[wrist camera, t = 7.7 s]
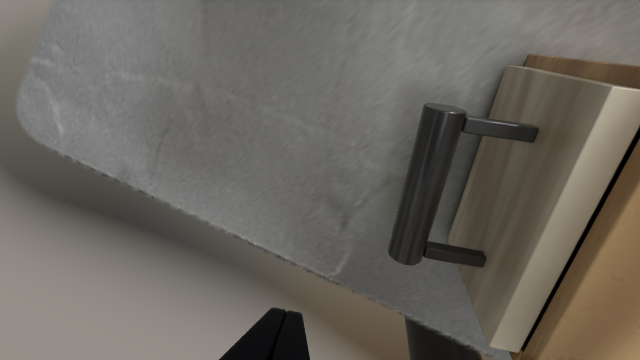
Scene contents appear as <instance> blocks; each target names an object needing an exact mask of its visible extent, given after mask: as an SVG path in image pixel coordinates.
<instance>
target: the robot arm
mask: <svg viewBox="0 0 640 360" xmlns="http://www.w3.org/2000/svg"><path fill="white" fill-rule="evenodd" d="M219 360H310V357H309V352H308V345H307V340H306V334H305V328H304V322H303V317H302V314H301V313H299V312H294V311H287V312H286V311H285V310H284V309H279V308H271V309H270V310H269V311H268V312H267V313H266V314H265V315H264V316H263V317H262V318H261V319H260V320H259V321H258V322H257V323H256V324H255V325H254V326H253V327H252V328H251V329H250V330H249V331H248V332H247V333H246V334H245V335H244V336H242V337H241V338H240V340H238V342H236V343H235V345H233V346H232V347H231V348H230V349H229V350H228V351H227V352H226V353H225V354H224V355H223V356H222V357H221V358H220V359H219Z"/></svg>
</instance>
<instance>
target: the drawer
mask: <svg viewBox="0 0 640 360" xmlns="http://www.w3.org/2000/svg"><path fill="white" fill-rule="evenodd" d="M466 114H467V112H466V111H465V110H463V109H460V108H457V107H454V106H449V105H444V104H436V103H427V104H424V107H423V111H422V115H421V119H420V123H419V127H418V131H417V135H416V139H415V143H414V147H413V151H412V155H411V159H410V163H409V167H408V171H407V175H406V179H405V183H404V187H403V191H402V195H401V199H400V203H399V207H398V211H397V215H396V219H395V223H394V227H393V231H392V235H391V239H390V243H389V247H388V253H389V255H390V256H391V258H393V259H394V260H395V261H397V262H399V263H402V264H405V265H416V264H418V263H420V262H421V260H422V257H423V255H424V257H425V258H429V259H435V260H440V261H446V262H451V263H457V265H458V268H459V271H460V273H461V276H462V278H463V281H464V283H465V286H466V289H467V291H468V294H469V296H470V299H471V302H472V304H473V307H474V309H475V312H476V315H477V317H478V320H479V322H480V325H481V327H482V330H483V333H484V335H485V338H486V340H487V343H488V346H489V347H491V348H496V349H501V350H506V351H511V352H516V353H518V352H519V351H520V349H521V347H522V346H523V344H524V342H525V340H526V338H527V336H528V334H529V332H530V331H531V329H532V327H533V325H534V323H535V321H536V319H537V318H538V316H539V314H540V315H541V317H543V315H544V313H545V312H546V310H547V308H548V306H549V304H550V302H551V301H552V299H553V297H554V295H555V293H556V291H557V289H558V288H559V286H560V284H561V282H562V280H563V278H564V277H565V275H566V273H567V271H568V269H569V267H570V266H571V264H572V262H573V260H574V258H575V256H576V254H577V253H578V251H579V249H580V247H581V245H582V243H583V242H584V240H585V238H586V236H587V234H588V232H589V231H590V229H591V227H592V225H593V223H594V221H595V219H596V218H597V216H598V214H599V212H600V210H601V208H602V207H603V205H604V203H605V201H606V199H607V197H608V196H609V194H610V192H611V190H612V188H613V186H614V184H615V183H616V181H617V179H618V177H619V175H620V173H621V172H622V170H623V168H624V166H625V164H626V162H627V161H628V159H629V157H630V155H631V153H632V151H633V149H634V148H635V146H636V144H637V142H638V140H639V138H640V89H638V88H633V87H628V86H623V85H618V84H613V83H607V82H602V81H597V80H592V79H587V78H581V77H576V76H571V75H566V74H561V73H556V72H550V71H545V70H540V69H535V68H529V67H522V66H514V65H506V68H505V71H504V74H503V77H502V80H501V83H500V86H499V89H498V92H497V95H496V98H495V100H494V103H493V106H492V109H491V112H490V115H489V118H483V117H476V116H469V115H466ZM461 131H462V132H463V133H469V134H476V135H482V139H481V142H480V145H479V148H478V151H477V154H476V157H475V160H474V163H473V166H472V169H471V172H470V175H469V178H468V181H467V184H466V187H465V190H464V193H463V196H462V199H461V202H460V204H459V207H458V210H457V213H456V216H455V219H454V222H453V225H452V228H451V231H450V234H449V237H448V242H449V245H446V244H441V243H435V242H429V241H428V238H429V234H430V231H431V228H432V225H433V221H434V218H435V215H436V211H437V208H438V205H439V202H440V198H441V195H442V192H443V189H444V185H445V182H446V179H447V176H448V172H449V169H450V166H451V163H452V159H453V156H454V153H455V150H456V146H457V143H458V140H459V136H460V133H461Z"/></svg>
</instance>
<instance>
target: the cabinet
mask: <svg viewBox="0 0 640 360" xmlns="http://www.w3.org/2000/svg"><path fill="white" fill-rule="evenodd" d="M524 67H529V68H535V69H540V70H545V71H550V72H556V73H561V74H566V75H571V76H576V77H581V78H587V79H592V80H597V81H602V82H607V83H613V84H618V85H623V86H628V87H633V88H638V89H640V66H634V65H625V64H616V63H607V62H598V61H589V60H580V59H570V58H561V57H552V56H543V55H534V54H529V55H528V57H527V60H526V62H525V65H524ZM509 353H510V355H511V357H512V360H640V138H639V140H638V142H637V144H636V146H635V148H634V149H633V151H632V153H631V155H630V157H629V159H628V161H627V162H626V164H625V166H624V168H623V170H622V172H621V173H620V175H619V177H618V179H617V181H616V183H615V184H614V186H613V188H612V190H611V192H610V194H609V196H608V197H607V199H606V201H605V203H604V205H603V207H602V208H601V210H600V212H599V214H598V216H597V218H596V219H595V221H594V223H593V225H592V227H591V229H590V231H589V232H588V234H587V236H586V238H585V240H584V242H583V243H582V245H581V247H580V249H579V251H578V253H577V254H576V256H575V258H574V260H573V262H572V264H571V266H570V267H569V269H568V271H567V273H566V275H565V277H564V278H563V280H562V282H561V284H560V286H559V288H558V289H557V291H556V293H555V295H554V297H553V299H552V301H551V302H550V304H549V306H548V308H547V310H546V312H545V313H544V315H543V317H541V315H540V314H539V316H538V318H537V319H536V321H535V323H534V325H533V327H532V329H531V331H530V332H529V334H528V336H527V338H526V340H525V342H524V344H523V346H522V347H521V349H520V351H519V352H518V353H516V352H511V351H509Z"/></svg>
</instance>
